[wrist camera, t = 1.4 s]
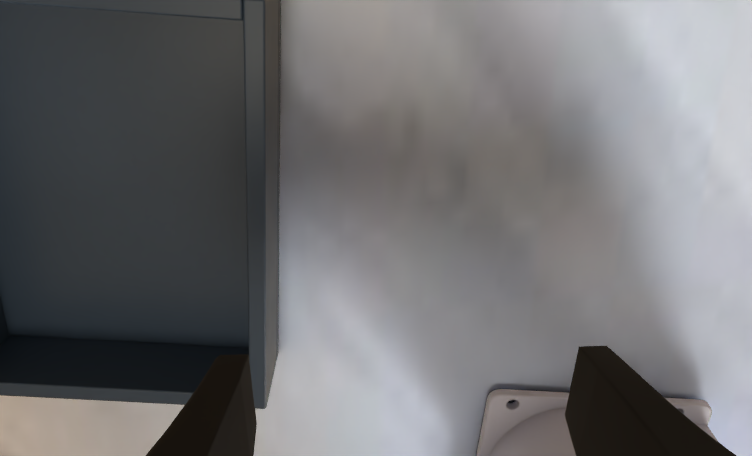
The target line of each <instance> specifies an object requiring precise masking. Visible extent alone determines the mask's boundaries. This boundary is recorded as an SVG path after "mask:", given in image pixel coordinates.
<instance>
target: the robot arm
mask: <svg viewBox="0 0 752 456" xmlns="http://www.w3.org/2000/svg"><path fill="white" fill-rule="evenodd" d="M510 400H516V401H515V402H513V403H507V402H508V401H510ZM711 415H712V409H711V407H710V406H709V404H708V403H707V402H706V401H704V400H697V399H679V398H664V397H663V396H662V395H661V394H660V393H658V392H657V391H656V390H655V389H654V388H653V387H652V386H651V385H649V384H648V383H647V382H646V381H645V380H644V379H643V378H642V377H641V376H639V375H638V374H637V373H636V372H635V371H634V370H633V369H632V368H631V367H630V366H629V365H627V364H626V363H625V362H624V361H623V360H622V359H621V358H620V357H619V356H617V355H616V354H615V353H614V352H613V351H612V350H611V349H610V348H608V347H607V346H584V347H579V350H578V355H577V359H576V364H575V369H574V373H573V378H572V383H571V387H570V392H569V393H566V392H548V391H529V390H510V389H496V390H494V391H492V392H491V393H490V394H489V395H488V398H487V402H486V408H485V413H484V418H483V423H482V428H481V434H480V439H479V444H478V449H477V454H476V456H736V455H735V454H733V453H732V452H731V451H729V450H728V449H726V448H725V447H724V446H723V445H721V444H720V443H719V442H718V441H717V439H716V438H715V436H714V435H713V433H712V432H711V430H710V429H709V428H708V426H707V425H708V422H709V420H710V417H711ZM256 424H257V423H256V415H255V406H254V398H253V389H252V380H251V372H250V363H249V355H248V354H238V355H219V356H218V357H217V358H216V359H215V360H214V362H213V364H212V365H211V367H210V369H209V370H208V372H207V373H206V375H205V376H204V378H203V380H202V381H201V383H200V384H199V386H198V387H197V389H196V390H195V392H194V393H193V394H192V396H191V397H190V399H189V400H188V402H187V403H186V404H185V406H184V407H183V409H182V410H181V411H180V413H179V414H178V415H177V417H176V418H175V419H174V421H173V422H172V423H171V425H170V426H169V428H168V429H167V430H166V431H165V433H164V434H163V435H162V436H161V438H160V439H159V440H158V441H157V442H156V444H155V445H154V446H153V447H152V449H151V450H150V451H149V452H148V453H147V455H146V456H253V454H254V444H255V434H256Z"/></svg>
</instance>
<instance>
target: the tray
mask: <svg viewBox="0 0 752 456" xmlns="http://www.w3.org/2000/svg"><path fill="white" fill-rule="evenodd" d="M280 39H281V0H0V395H6V396H26V397H45V398H64V399H84V400H103V401H123V402H142V403H162V404H181V405H185V404H186V403H187V402H188V400H189V399H190V397H191V396H192V394H193V393H194V392H195V390H196V389H197V387H198V386H199V384H200V383H201V381H202V380H203V378H204V376H205V375H206V373H207V372H208V370H209V369H210V367H211V365H212V364H213V362H214V360H215V359H216V358H217V357H218V356H219V355H238V354H248V355H249V363H250V372H251V380H252V389H253V398H254V406H255V408H259V409H265V408H266V406H267V402H268V397H269V393H270V388H271V383H272V379H273V374H274V369H275V365H276V360H277V356H278V297H279V168H280Z"/></svg>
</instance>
